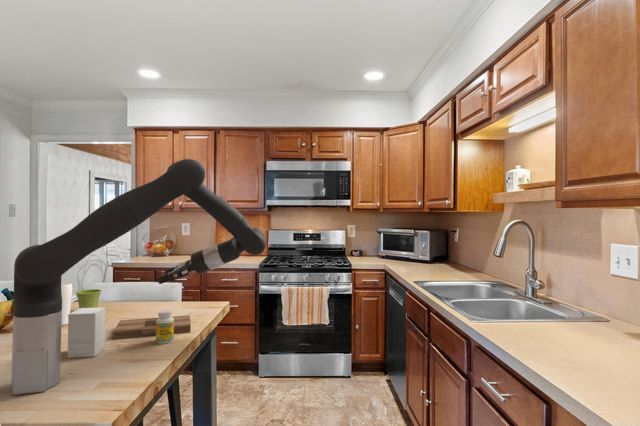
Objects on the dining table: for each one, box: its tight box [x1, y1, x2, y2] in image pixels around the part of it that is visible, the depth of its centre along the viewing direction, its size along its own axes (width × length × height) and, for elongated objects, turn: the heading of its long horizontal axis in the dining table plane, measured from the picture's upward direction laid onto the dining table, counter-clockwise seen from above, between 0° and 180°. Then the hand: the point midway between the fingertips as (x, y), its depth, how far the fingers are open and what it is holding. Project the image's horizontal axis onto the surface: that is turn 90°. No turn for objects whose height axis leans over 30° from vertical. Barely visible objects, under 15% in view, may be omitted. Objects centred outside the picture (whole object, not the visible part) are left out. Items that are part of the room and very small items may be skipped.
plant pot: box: [75, 288, 103, 309], centre depth 154 cm, size 9×9×9 cm
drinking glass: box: [61, 282, 73, 327], centre depth 135 cm, size 7×7×15 cm
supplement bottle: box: [155, 310, 175, 345], centre depth 119 cm, size 5×5×10 cm
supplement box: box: [67, 307, 106, 359], centre depth 108 cm, size 7×7×13 cm
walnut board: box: [112, 314, 192, 340], centre depth 131 cm, size 14×24×2 cm, turn 110°
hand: (162, 277), depth 122 cm, fingers open, 8 cm apart
